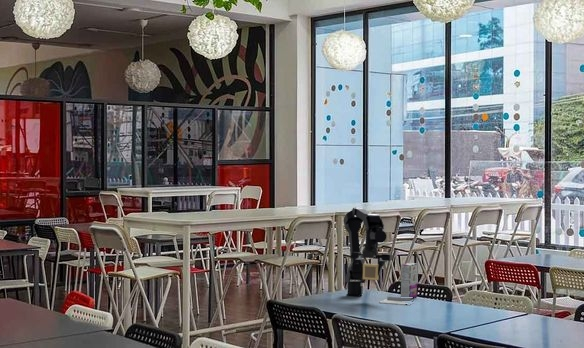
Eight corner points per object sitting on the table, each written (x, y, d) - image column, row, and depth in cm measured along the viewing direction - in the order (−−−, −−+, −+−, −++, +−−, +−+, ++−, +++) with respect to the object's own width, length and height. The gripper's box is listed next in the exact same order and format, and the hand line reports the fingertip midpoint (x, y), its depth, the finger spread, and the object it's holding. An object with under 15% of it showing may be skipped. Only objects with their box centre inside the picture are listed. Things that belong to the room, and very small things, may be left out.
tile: (362, 279, 401) (363, 264, 401) (363, 278, 403) (364, 263, 403) (377, 280, 399) (377, 264, 399) (378, 279, 401) (378, 264, 401)
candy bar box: (407, 296, 424) (408, 262, 424) (417, 297, 422) (418, 263, 422) (399, 298, 414) (400, 264, 414) (409, 299, 412) (410, 264, 412)
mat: (379, 302, 395) (379, 298, 395) (386, 299, 408) (386, 295, 408) (409, 305, 390) (409, 301, 390) (415, 301, 404) (415, 297, 404)
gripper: (347, 240, 397) (346, 275, 396) (387, 243, 390) (386, 277, 390) (354, 239, 407) (353, 273, 407) (393, 241, 401) (392, 275, 401)
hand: (370, 275), depth 401 cm, fingers closed on tile, 7 cm apart
